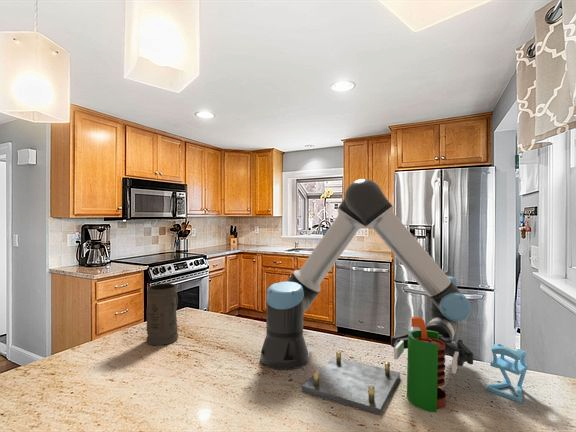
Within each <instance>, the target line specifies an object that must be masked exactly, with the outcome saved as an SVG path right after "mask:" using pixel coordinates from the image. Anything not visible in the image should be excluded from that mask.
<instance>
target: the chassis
mask: <svg viewBox="0 0 576 432" xmlns="http://www.w3.org/2000/svg"><path fill="white" fill-rule="evenodd" d="M335 353H336V354H335V355H336V356H333V357H332V358H331V359H329V360H328V362H326V363H325V364H323V366H322V367H321V368H320V369H318V370H316V371H313V375H312V376H310V378H309V379H308V380H306V381H305V383H303V384H302V385H301V392H302V393H305V394H309V395H312V396H315V397H318V398H321V399H324V400H328V401H329V402H330V401H331V402H334V403H337V404H340V405H344V406H347V407H349V408H353V409H357V410H360V411H362V412H366V413H369V414H371V415H372V414H373V415H376V416H379V417H381V415H382V413H383V411H384V409H385V407H386V406H387V403H388V402H389V400H390V397H391V395H392V394H393V392H394V390H395V388H396V386H397V384H398V382H399V380H400V378H401V375H400V374H401V373H400V371H396V370H392V369H391V363H390V362H389V361H385V362H384V368H383V367H378V366H374V365H370V364H365V363H362V362H361V363H360V362H357V361H353V360H348V359H344V358H342V351H341V350H340V351H338V350H337V351H335Z"/></svg>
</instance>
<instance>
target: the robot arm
mask: <svg viewBox="0 0 576 432" xmlns="http://www.w3.org/2000/svg"><path fill="white" fill-rule="evenodd" d="M337 213H338V214H337V216H336V218H335V219H334V221H333V222H332V224H330V227H329V228H328V229H327V231H326V232H325V234H323V236H322V238H321V239H320V241H318V244H317V245H316V247H315V248H314V249H313V251H312V252H311V253H310V255H309V256H308V258H307V259H306V260H305V262H304V263H303V265H302V266H301V268H300V269H295V270H294V271H293V272H292V273H291V275H290V276H289V277H288V279H287V280H286V281H280V282H274V283H272V284H271V285H270V286H268V288H267V290H266V297H265V300H266V333H265V338H264V341H263V344H262V346H261V350H260V362H261V364H263V366H266V367H268V368H271V369H274V370H275V369H277V370H293V369H298V368H301V367H303V366H304V365H306V364H308V362H309V350H308V348H307V347H308V346H307V344H306V340H305V336H304V314H305V313H306V311H307V310H308V309H309V308H311V306H312V305H313V303H314V301H315V300H316V299H317V296H318V295H319V293H320V292H321V291H322V290H321V289H322V288H321V283H322V282H323V281H324V279H325V278H326V276H327V275H328V273H329V272H330V270H331V269H332V268H333V266H334V265H335V264H336V262H337V261H338V259H339V258H340V256H341V255H342V254H343V253H344V251H345V250H346V248H347V247H348V246H349V244H350V242H352V241H353V239H354V237H356V236H355V235H356V234H357V232H358V231H359V230H361V229H365V228H372V229H373V230H374V232H375V233H376V234H377V235H378V237H379V238H380V239H381V240H382V241H383V242H384V244H385V245H386V246H387V247H388V249H389V250H390V251H391V252H392V254H393V255H394V256H395V258H397V259H398V261H399V262H400V263H401V264H402V266H403V268H405V270H406V271H408V274H410V275H411V277H413V279H414V281H416V282H417V284H418V285H419V286H420V288H422V290H423V291H424V292H425V293H426V295H427V296H428V297H429V299H430V321H429V322H428V323H427V324H426V330H430V331H435V332H439V340H441V341H443V342H444V343H445V344H446V348H445V349H444V350H445V354H447V355H448V356H450V357H451V358H452V359H451V374H456V373H457V370H458V367H464V364H465V362H466V363H467V364H469V365H473V364H474V353H473V352H472V351H471V350H470V349H469V348H468V346H466V345H465V344H464V342H463V341H464V340H462V339H457V340H454V341H453V339H454V336H455V334H456V333H457V332H458V329H459V322H463V321H465V320H466V319H467V318H468V317H469V316H470V315H471V312H472V305H471V303H470V301H469V299H468V298H467V297H466V296H465V295H464V294H462V292H461V291H460V290H459V288H458V285H457V284H458V283H457V278H456V277H454V276H450V275H446V273H445V272H444V271H443V270H442V268H441V267H440V266H439V265H438V263H437V262H436V261H435V259H433V258H432V256H431V255H430V254H429V253H428V252H427V251H426V249H425V248H424V247H423V246H422V245H421V243H420V242H419V241H418V240H417V239H416V237H415V236H414V235H413V233H411V232H410V230H409V229H408V228H407V226H405V224H404V223H403V222H402V220H401V219H400V218H399V217H398V216H397V215H396V214H395V213H394V206H393V205H392V203H391V202H390V201H389V200H388V198H387V196H385V193H384V192H383V190H382V189H381V187H380V186H379V184H378V183H377V182H375V181H373V180H371V179H368V178H359V179H357V180H355V181H353V182H352V183H350V185H348V187H347V189H346V191H345V193H344V198H343V200H342V201H341V202H340V204H339V206H337ZM410 331H411V330H409V331H408V332H404V333H401V334H397V335H396V334H395V335H392V336H391V337H390V347H392V348H393V359H394V360H398V359H399V358H400V356H402V355H403V353H404V352H405V350H408V333H409V332H410Z"/></svg>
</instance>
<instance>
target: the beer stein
mask: <svg viewBox="0 0 576 432" xmlns="http://www.w3.org/2000/svg"><path fill="white" fill-rule="evenodd" d="M177 291H178V289H177V285H176V284H174V283H158V284H153V285H150V286H148V287H147V290H146V294H147V299H146V300H147V304H146V334H147V337H146V342H147V344H148V345H151V346H165V345H169V344H171V343H174V342H175V341H177V340H178V338H179V333H178V329H179V328H178V319H177V317H178V316H177V309H178V303H179V298H178V297H179V296H178V292H177Z"/></svg>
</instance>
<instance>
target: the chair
mask: <svg viewBox="0 0 576 432" xmlns="http://www.w3.org/2000/svg"><path fill="white" fill-rule="evenodd" d="M491 352H492V356H493V360H492V361H491V362H490V363H489V364H490V367H492V368H495V369H499V370H500V372H501V374H502V376H503V377H504V381H503V382H498V383H492V384H489V385H486V390H487V391H488V392H490V393H493V394H496V395H498V396H501V397H504V398H507V399H509V400H512V401H514V402H517V403H523V392H522V391H523V383H524V380H525V377H526V373H527V370H528V369H529V365H528V364H526V363H525V362H526V361H525V360H526V359H525V358H526V355H527V351H525V350H523V349H517V350H515V349H511V348H510V347H507V346H504V345H503V344H501V343H494V344H493V345H492V346H491ZM497 355H500V356H499V357H498V356H497ZM505 356H506V357H508V358H506V357H505ZM509 358H510V359H509ZM511 359H513V360H511ZM519 360H520V361H519ZM506 371H507V372H509V373H511V374H514V375H517V376H519V378H518V381H517V384H516V394H517V396H515V395H513V394H510V393H508V392H506V391H502V390H500V389H502V388H503V389H504V388H507V387H510V386H512V382H511V379H510V378H509V376H508V374H507V372H506Z"/></svg>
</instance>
